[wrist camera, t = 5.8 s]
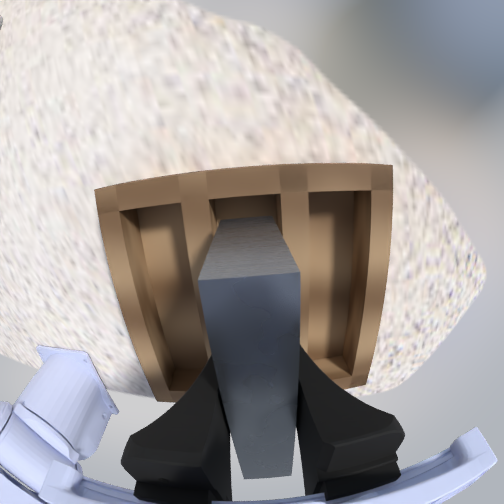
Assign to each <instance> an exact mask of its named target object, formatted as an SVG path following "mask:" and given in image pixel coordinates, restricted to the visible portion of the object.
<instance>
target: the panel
mask: <svg viewBox="0 0 504 504" xmlns="http://www.w3.org/2000/svg"><path fill="white" fill-rule="evenodd" d="M198 286H199V292H200V297H201V303H202V308H203V314H204V319H205V324H206V329H207V334H208V339H209V344H210V349H211V354H212V358H213V363H214V367H215V372H216V376H217V381H218V385H219V389H220V393H221V397H222V401H223V405H224V409H225V413H226V417H227V421H228V425H229V429H230V432H231V436H232V440H233V443H234V447H235V450H236V454H237V457H238V460H239V463H240V467H241V470H242V473H243V477H244V479H258V478H272V477H282V476H291V473H292V464H293V454H294V442H295V429H296V416H297V400H298V381H299V355H300V305H301V276H300V270H299V268H298V266H297V264H296V262H295V260H294V258H293V256H292V254H291V252H290V250H289V248H288V246H287V244H286V242H285V240H284V238H283V236H282V234H281V232H280V230H279V228H278V226H277V225H276V223H275V221H274V219H273V217H272V216H259V217H246V218H235V219H223V220H220V222H219V225H218V227H217V230H216V233H215V235H214V238H213V240H212V243H211V246H210V248H209V251H208V253H207V256H206V259H205V261H204V264H203V267H202V270H201V272H200V275H199V278H198Z"/></svg>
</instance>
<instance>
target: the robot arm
mask: <svg viewBox="0 0 504 504" xmlns="http://www.w3.org/2000/svg"><path fill="white" fill-rule="evenodd" d="M36 349H37V351H38V353H39V355H40V357H41V359H42V361H43V365H42V366H41V367H40V369H39V370H38V371H37V373H36V374H35V375H34V377H33V378H32V380H31V381H30V382H29V383H28V385H27V386H26V388H25V389H24V390H23V392H22V393H21V395H20V396H19V397H18V399H17V400H16V402H15V403H14V404H13V405H11V404H10V403H9V402H8V401H6V402H4V401H0V465H1V466H3V467H4V468H5V469H6V470H7V471H8V472H10V473H11V474H12V475H13V476H15V477H16V478H18V479H19V480H20V481H21V482H23V483H24V484H25V485H27V486H28V487H30V488H31V489H32V490H34V491H35V492H33V491H31V490H29V489H27V488H26V487H24V486H23V485H22V484H20V483H19V482H18V481H16V480H15V479H14V478H12V477H11V476H10V475H9V474H7V473H6V472H5V471H4V470H3V469H1V468H0V504H441V503H442V502H444V501H446V500H448V499H449V498H451V497H453V496H454V495H456V494H458V493H459V492H461V491H462V490H464V489H465V488H467V487H468V486H470V485H471V484H472V483H474V482H475V481H476V480H477V479H479V478H480V477H481V476H482V475H483V474H484V473H486V472H487V471H488V470H489V469H490V468H491V467H492V466H493V465H494V464H495V463H496V462H497V458H496V456H495V455H494V453H493V451H492V450H491V448H490V446H489V445H488V443H487V442H486V440H485V438H484V437H483V435H482V434H481V432H480V431H479V429H478V428H477V427H474V428H473V429H471V430H470V431H468V432H466V433H465V434H463V435H461V436H460V437H458V438H457V439H456V440H455V441H454V442H453V443H452V445H451V446H450V447H449V448H448V449H446V450H444V451H442V452H440V453H438V454H436V455H434V456H432V457H430V458H428V459H426V460H424V461H421V462H419V463H417V464H415V465H412V466H410V467H407V468H405V469H402V470H399V467H398V465H397V463H396V461H397V460H398V457H397V454H396V451H397V449H398V448H399V446H400V445H401V443H402V442H403V439H404V437H405V433H404V431H403V429H402V427H401V425H400V423H399V422H398V421H397V419H396V418H395V416H394V415H392V414H389V413H386V412H384V411H381V410H379V409H376V408H374V407H372V406H369V405H368V404H365V403H364V402H362V401H360V400H359V399H357V398H355V397H354V396H352V395H350V394H349V393H348V392H346V391H345V390H343V389H342V388H341V387H340V386H338V385H337V384H336V383H335V382H333V381H332V380H331V379H330V378H329V377H328V376H327V375H326V374H325V373H324V372H323V371H322V370H321V369H320V368H319V367H318V366H317V365H316V364H315V363H314V361H313V360H312V359H311V358H310V357H309V355H308V354H307V353H306V352H305V350H304V349H303V347H302V346H301V345H300V355H299V381H298V400H297V416H296V428H297V433H298V440H299V447H300V454H301V461H302V469H303V478H304V487H305V496H301V497H294V498H286V499H275V500H262V501H234V502H233V501H232V489H231V467H230V466H231V465H230V429H229V425H228V421H227V417H226V413H225V409H224V405H223V401H222V397H221V393H220V389H219V385H218V381H217V376H216V372H215V367H214V363H213V358H212V354H211V356H210V358H209V360H208V361H207V363H206V365H205V366H204V368H203V370H202V371H201V373H200V374H199V376H198V377H197V379H196V380H195V381H194V383H193V384H192V385H191V387H190V388H189V389H188V390H187V392H186V393H185V394H184V395H183V396H182V397H181V398H180V399H179V400H178V401H177V402H176V403H175V404H174V406H172V407H171V408H170V409H169V410H168V411H167V412H166V413H164V414H163V415H162V416H161V417H159V418H158V419H157V420H155V421H154V422H153V423H151V424H150V425H148V426H147V427H145V428H143V429H141V430H140V431H138V432H136V433H134V434H133V435H131V436H130V438H129V440H128V442H127V444H126V446H125V449H124V452H123V455H122V459H121V465H122V466H123V467H124V469H125V470H126V471H127V472H128V473H129V474H130V475H131V476H132V477H133V478H134V479H135V480H136V486H135V490H130V489H125V488H122V487H118V486H114V485H111V484H107V483H104V482H100V481H97V480H94V479H91V478H88V477H85V476H83V471H82V467H81V465H80V464H79V463H78V462H77V460H85V459H87V458H89V457H90V456H91V455H93V454H94V453H95V451H96V450H97V448H98V446H99V443H100V441H101V438H102V436H103V433H104V431H105V428H106V426H107V423H108V421H109V419H110V416H111V414H118V413H119V410H118V409H117V407H116V405H115V404H114V402H113V400H112V399H111V397H110V395H109V393H108V392H107V390H106V388H105V386H104V384H103V383H102V381H101V379H100V377H99V375H98V373H97V371H96V369H95V367H94V365H93V363H92V361H91V359H90V357H89V355H88V354H87V353H86V352H84V351H75V350H67V349H60V348H53V347H46V346H40V345H38V346H37V347H36ZM36 492H37V493H36Z"/></svg>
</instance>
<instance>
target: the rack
mask: <svg viewBox="0 0 504 504" xmlns="http://www.w3.org/2000/svg"><path fill="white" fill-rule="evenodd" d="M94 191H95V198H96V204H97V211H98V217H99V222H100V228H101V233H102V238H103V242H104V247H105V252H106V256H107V260H108V264H109V268H110V272H111V276H112V280H113V284H114V287H115V291H116V294H117V298H118V301H119V304H120V308H121V311H122V314H123V317H124V320H125V323H126V326H127V329H128V332H129V335H130V338H131V340H132V343H133V346H134V348H135V351H136V354H137V356H138V359H139V361H140V364H141V366H142V369H143V371H144V373H145V376H146V378H147V380H148V383H149V385H150V387H151V390H152V392H153V394H154V396H155V398H156V400H157V401H159V402H177V401H178V400H179V399H180V398H181V397H182V396H183V395H184V394H185V393H186V392H187V390H188V389H189V388H190V387H191V385H192V384H193V383H194V381H195V380H196V379H197V377H198V376H199V374H200V373H201V371H202V370H203V368H204V366H205V365H206V363H207V361H208V360H209V358H210V356H211V349H210V344H209V339H208V334H207V329H206V324H205V319H204V314H203V308H202V303H201V297H200V292H199V286H198V278H199V275H200V272H201V270H202V267H203V264H204V261H205V259H206V256H207V253H208V251H209V248H210V246H211V243H212V240H213V238H214V235H215V233H216V230H217V227H218V225H219V222H220V220H223V219H235V218H246V217H259V216H272V217H273V219H274V221H275V223H276V225H277V226H278V228H279V230H280V232H281V234H282V236H283V238H284V240H285V242H286V244H287V246H288V248H289V250H290V252H291V254H292V256H293V258H294V260H295V262H296V264H297V266H298V268H299V270H300V276H301V305H300V345H301V346H302V347H303V349H304V350H305V352H306V353H307V354H308V355H309V357H310V358H311V359H312V360H313V361H314V363H315V364H316V365H317V366H318V367H319V368H320V369H321V370H322V371H323V372H324V373H325V374H326V375H327V376H328V377H329V378H330V379H331V380H332V381H333V382H335V383H336V384H337V385H338V386H340V387H341V388H342V389H348V388H353V387H358V386H362V385H366V382H367V378H368V374H369V371H370V367H371V363H372V359H373V354H374V350H375V345H376V341H377V336H378V331H379V326H380V321H381V315H382V309H383V303H384V297H385V290H386V283H387V275H388V266H389V256H390V245H391V231H392V210H393V165H384V164H368V163H305V164H280V165H262V166H248V167H236V168H225V169H215V170H206V171H198V172H190V173H182V174H175V175H168V176H161V177H155V178H149V179H143V180H137V181H131V182H126V183H121V184H116V185H112V186H107V187H103V188H99V189H95V190H94Z"/></svg>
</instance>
